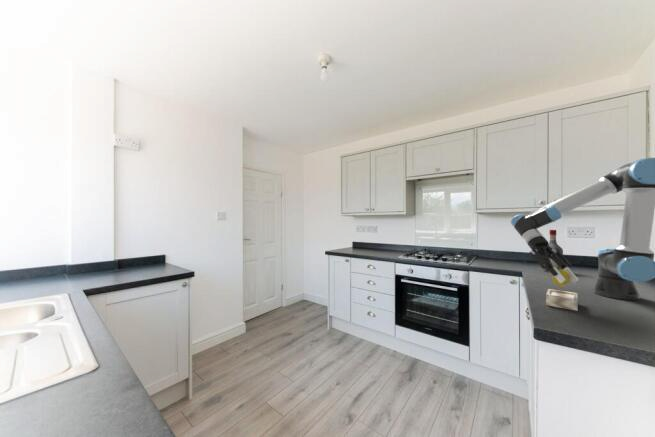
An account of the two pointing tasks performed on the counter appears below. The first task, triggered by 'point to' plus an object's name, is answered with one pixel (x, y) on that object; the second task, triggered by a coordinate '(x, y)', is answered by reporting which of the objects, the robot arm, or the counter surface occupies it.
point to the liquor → (554, 245)
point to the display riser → (562, 299)
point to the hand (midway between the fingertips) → (569, 281)
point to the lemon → (563, 276)
